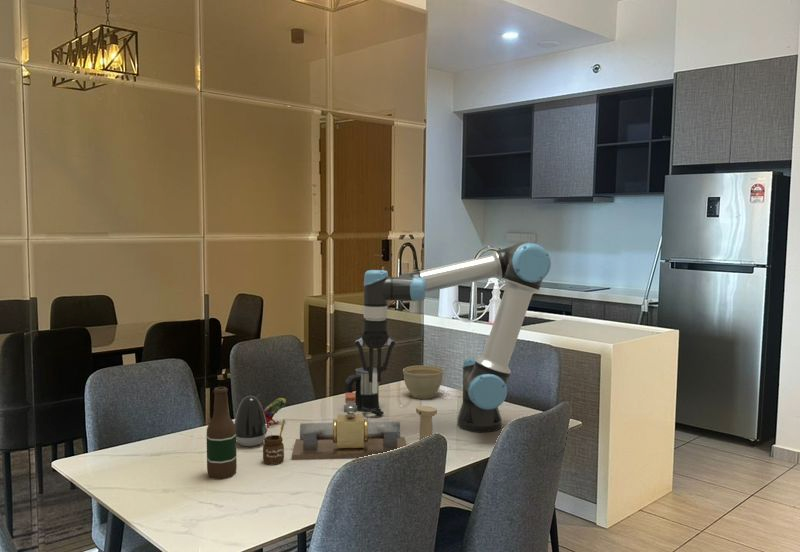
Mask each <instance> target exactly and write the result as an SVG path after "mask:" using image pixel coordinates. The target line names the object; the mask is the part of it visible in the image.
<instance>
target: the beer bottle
mask: <svg viewBox="0 0 800 552" xmlns="http://www.w3.org/2000/svg"><path fill="white" fill-rule="evenodd" d="M228 391H229V390H228V387H227V386H217V387H215V388H214V389H213V394H214V400H213V401H214V402H213V412H212V413H213V414H212V418H211V420H210V421H209V423H208V425H207V428H206V470H207V475H208V476H209V478H211V479H212V478H214V480H225V479H228V477H229V478H232V477H233V476H234V475H235V474H236V473H237V468H238V467H237V465H238V464H237V440H236V427H235V425H234V423H235V421H233V420H232V418H231V417H230V413H229V404H228ZM224 478H225V479H224Z"/></svg>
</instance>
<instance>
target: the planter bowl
mask: <svg viewBox="0 0 800 552" xmlns="http://www.w3.org/2000/svg"><path fill="white" fill-rule="evenodd" d="M402 373H403V380H404V383H405V386H406V388H407V390H408V391H409V393H410V397H412V398H414V399H420V400H429V399H433V398H434V397H435V396H436V393H437V392H438V390H439V389H440V388H441V384H442V381H443V373H444V369H443V368H441V367H438V366H432V365H411V366H407V367H405V368H403V369H402Z"/></svg>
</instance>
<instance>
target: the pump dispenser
mask: <svg viewBox="0 0 800 552" xmlns="http://www.w3.org/2000/svg"><path fill="white" fill-rule="evenodd" d="M261 398H262V395H261V394H258V395H257V396H253V395H247V396H245V397H243V398H242V399H241V402H240V403H239V406H238V408H237V411H236V414H235V417H234V418H235V419H234V425H235V427H236V443H238V444H239V445H241V446H243V447H248V448H249V447H255V446H258V445H260V444H261V443H263V442H264V438H265V437H266V436H267V434H268V431H267V430H268V426H267V425H266V424H267V423H266V418H265V414H264V411H263V410H264V409H263V405H262V404H261V402H260V400H261ZM264 425H266V426H267V427H265V426H264ZM263 426H264V427H263ZM263 430H265V431H263ZM266 431H267V432H266ZM265 435H266V436H265Z"/></svg>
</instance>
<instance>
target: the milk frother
mask: <svg viewBox="0 0 800 552" xmlns="http://www.w3.org/2000/svg"><path fill="white" fill-rule="evenodd" d="M373 371H377V367H373ZM355 372H356V373H355V374H351V375H349V376H347V378H346V379H345V382H344V390H345V391H344V393H355V397H356V403H354V404H355V405H357V411H359V412H370V413H373V414H374V415H376V416H380V415H383V414H384V410H381V408H380V405H379V403H380V402H379V393H380V391H379V387H380V386H379V385H380V382H377V393H372V382H369V372H368V371H364V370H363V367H357V368H355ZM354 383H355V389H353V385H354ZM354 390H355V392H353V391H354ZM345 405H347V403H345Z"/></svg>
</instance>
